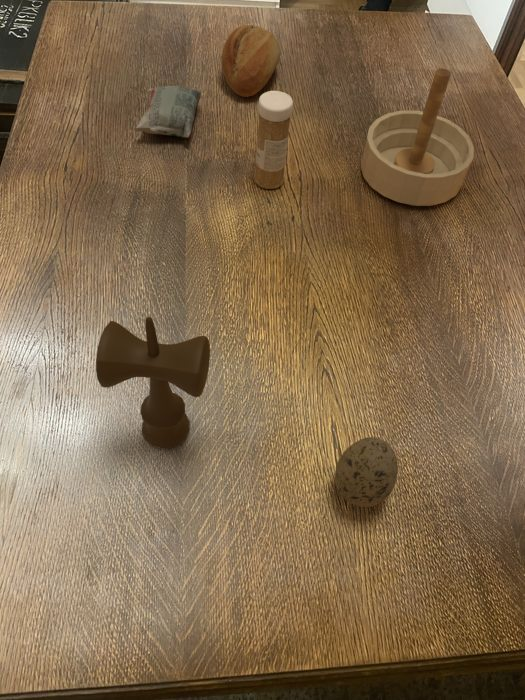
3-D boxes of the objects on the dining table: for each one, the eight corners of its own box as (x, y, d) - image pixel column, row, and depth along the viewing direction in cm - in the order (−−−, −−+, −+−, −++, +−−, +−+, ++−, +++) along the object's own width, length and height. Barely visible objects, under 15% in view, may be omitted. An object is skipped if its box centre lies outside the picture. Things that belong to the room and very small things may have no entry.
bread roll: (212, 97, 102) (212, 51, 95) (232, 52, 110) (233, 7, 104) (268, 107, 101) (271, 61, 95) (284, 60, 110) (288, 15, 103)
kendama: (129, 400, 68) (100, 282, 51) (214, 412, 68) (212, 297, 51) (115, 448, 64) (79, 339, 48) (205, 461, 64) (199, 355, 48)
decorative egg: (347, 452, 66) (366, 407, 58) (396, 483, 64) (422, 441, 56) (319, 495, 63) (334, 453, 55) (369, 528, 61) (392, 490, 53)
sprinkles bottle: (254, 170, 92) (259, 88, 81) (284, 171, 92) (292, 90, 81) (253, 190, 89) (258, 108, 78) (284, 191, 89) (293, 110, 78)
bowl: (446, 143, 98) (457, 110, 94) (472, 209, 90) (487, 176, 85) (352, 143, 97) (359, 110, 92) (370, 210, 88) (378, 177, 83)
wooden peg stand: (426, 158, 95) (459, 60, 82) (435, 184, 91) (471, 85, 78) (388, 158, 94) (416, 59, 81) (396, 184, 91) (426, 85, 78)
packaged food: (135, 143, 94) (132, 115, 90) (150, 99, 101) (148, 71, 97) (191, 149, 94) (190, 121, 90) (202, 105, 101) (202, 77, 97)
